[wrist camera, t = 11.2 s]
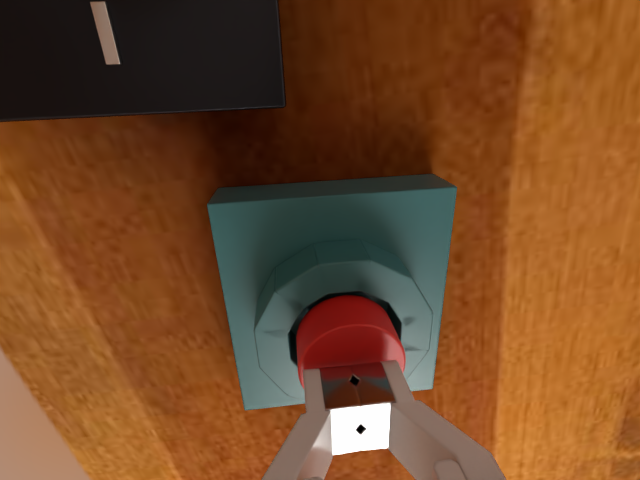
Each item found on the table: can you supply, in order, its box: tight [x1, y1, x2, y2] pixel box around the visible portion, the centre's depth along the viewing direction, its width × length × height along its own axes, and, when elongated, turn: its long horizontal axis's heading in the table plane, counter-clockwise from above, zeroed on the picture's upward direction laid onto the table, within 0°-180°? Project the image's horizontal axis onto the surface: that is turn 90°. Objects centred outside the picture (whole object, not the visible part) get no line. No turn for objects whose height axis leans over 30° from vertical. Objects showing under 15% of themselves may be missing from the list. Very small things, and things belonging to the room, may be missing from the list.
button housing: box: [207, 174, 457, 410], centre depth 14 cm, size 10×9×4 cm
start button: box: [296, 295, 406, 389], centre depth 12 cm, size 4×4×2 cm
